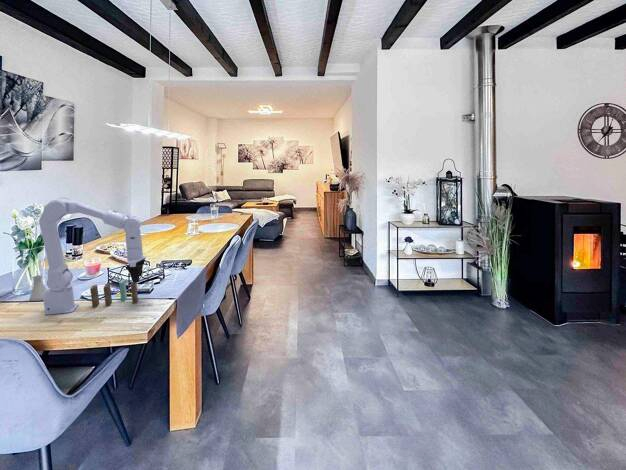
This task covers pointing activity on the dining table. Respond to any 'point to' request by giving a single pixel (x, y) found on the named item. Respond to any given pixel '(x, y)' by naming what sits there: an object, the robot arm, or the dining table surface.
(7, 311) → the dining table surface
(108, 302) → the domino
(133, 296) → the domino
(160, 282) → the dining table surface
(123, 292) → the domino
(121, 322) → the dining table surface
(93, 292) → the domino
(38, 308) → the dining table surface
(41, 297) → the flask
